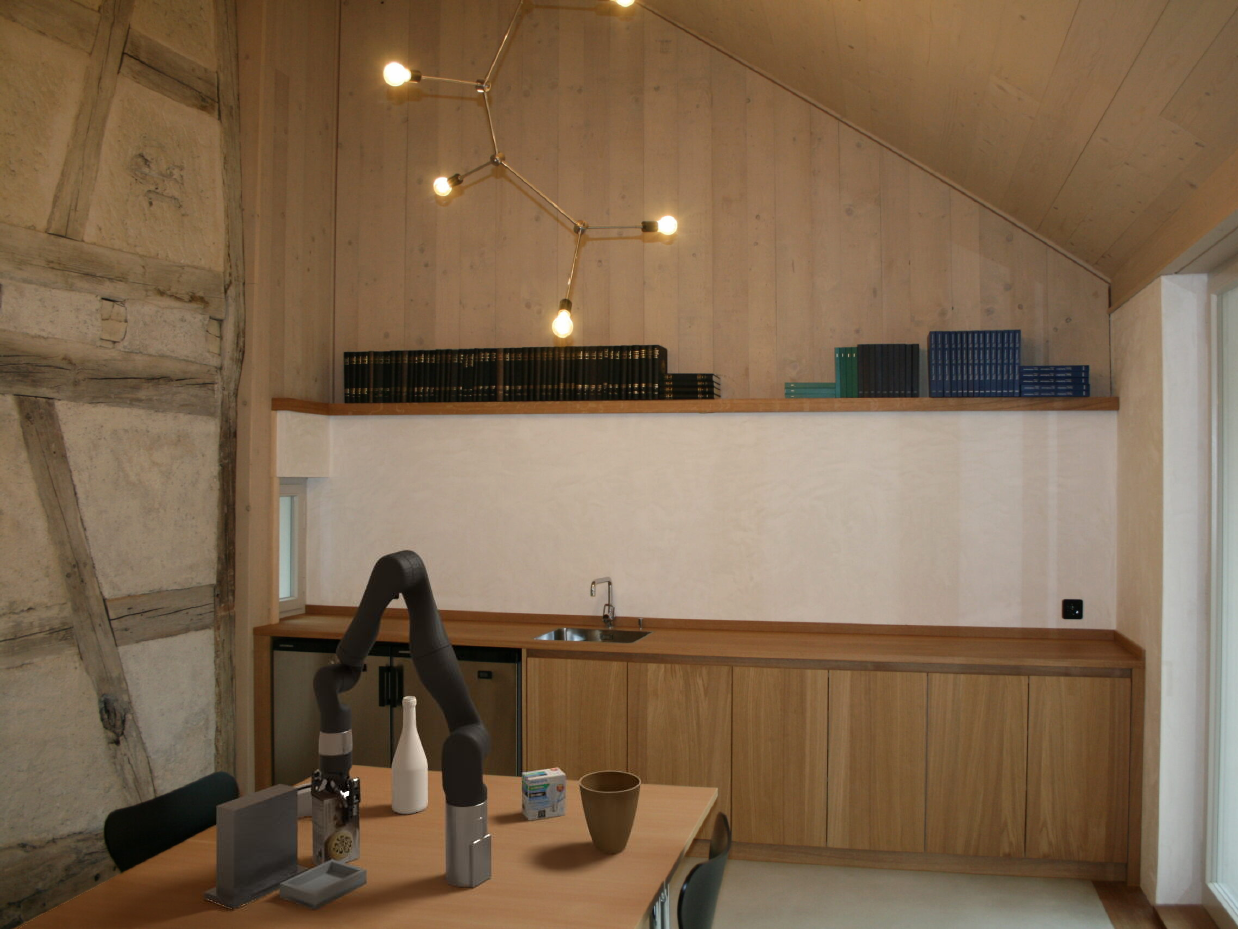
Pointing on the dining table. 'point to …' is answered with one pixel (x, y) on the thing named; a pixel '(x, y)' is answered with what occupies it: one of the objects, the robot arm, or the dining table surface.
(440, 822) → the dining table surface
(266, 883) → the upright panel on base
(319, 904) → the parts tray
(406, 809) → the wine bottle
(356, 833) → the coffee box
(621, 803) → the plant pot
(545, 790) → the light bulb box
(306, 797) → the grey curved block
